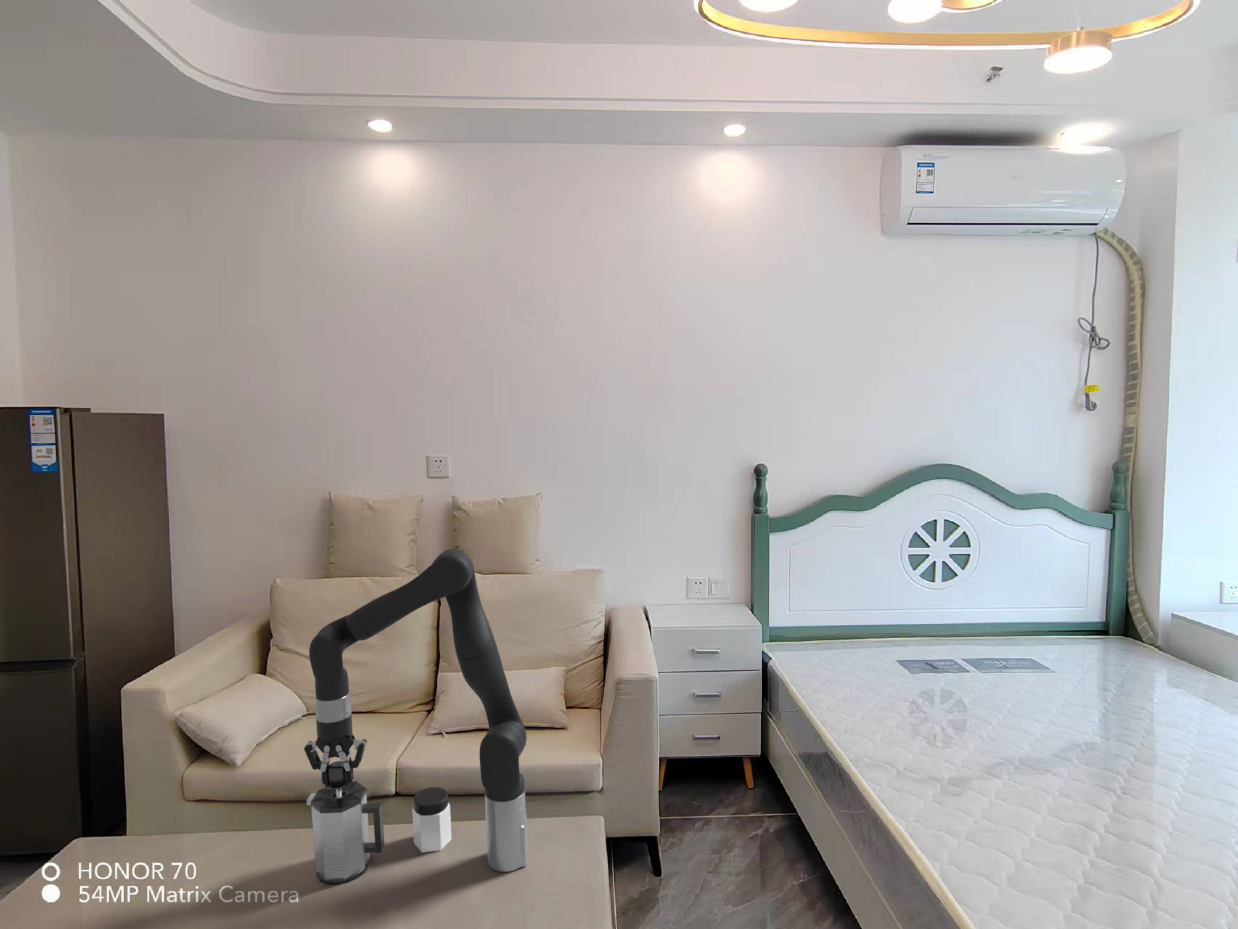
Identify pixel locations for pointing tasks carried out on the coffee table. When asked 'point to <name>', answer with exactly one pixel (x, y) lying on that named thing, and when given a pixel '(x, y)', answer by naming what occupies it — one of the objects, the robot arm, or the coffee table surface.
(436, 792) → the jar
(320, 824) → the press pot
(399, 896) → the coffee table surface
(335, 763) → the plunger
